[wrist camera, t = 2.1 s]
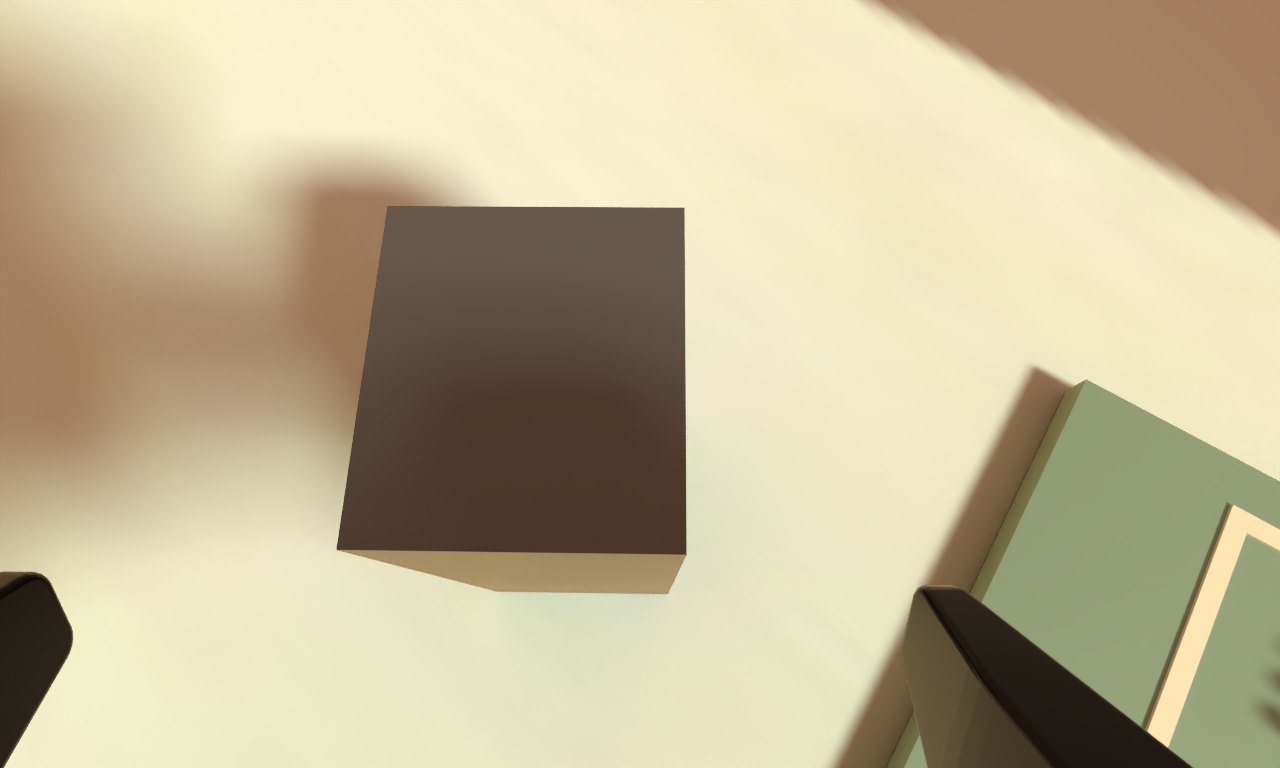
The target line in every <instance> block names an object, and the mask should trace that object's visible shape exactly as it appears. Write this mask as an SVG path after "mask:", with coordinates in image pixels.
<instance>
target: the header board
mask: <svg viewBox="0 0 1280 768" xmlns="http://www.w3.org/2000/svg"><path fill="white" fill-rule="evenodd" d="M970 594H971V595H973V596H974V597H975V598H977V599H978V600H979V601H980V602H982V603H983V604H984V605H986V606H987V607H988V608H989V609H991V610H992V611H993V612H994V613H996V614H997V615H998V616H1000V617H1001V618H1002V619H1003V620H1005V621H1006V622H1007V623H1009V624H1010V625H1011V626H1012V627H1014V628H1015V629H1016V630H1018V631H1019V632H1020V633H1021V634H1023V635H1024V636H1025V637H1027V638H1028V639H1029V640H1030V641H1032V642H1033V643H1034V644H1036V645H1037V646H1038V647H1039V648H1041V649H1042V650H1043V651H1045V652H1046V653H1047V654H1048V655H1050V656H1051V657H1052V658H1054V659H1055V660H1056V661H1057V662H1059V663H1060V664H1061V665H1063V666H1064V667H1065V668H1066V669H1068V670H1069V671H1070V672H1072V673H1073V674H1074V675H1075V676H1077V677H1078V678H1079V679H1081V680H1082V681H1083V682H1084V683H1086V684H1087V685H1088V686H1089V687H1091V688H1092V689H1093V690H1095V691H1096V692H1097V693H1098V694H1100V695H1101V696H1102V697H1104V698H1105V699H1106V700H1107V701H1109V702H1110V703H1111V704H1113V705H1114V706H1115V707H1116V708H1118V709H1119V710H1120V711H1122V712H1123V713H1124V714H1125V715H1127V716H1128V717H1129V718H1131V719H1132V720H1133V721H1134V722H1136V723H1137V724H1138V725H1140V726H1141V727H1142V728H1143V729H1145V730H1146V731H1147V732H1149V733H1150V734H1151V735H1152V736H1154V737H1155V738H1156V739H1158V740H1159V741H1160V742H1161V743H1163V744H1164V745H1165V746H1167V747H1168V748H1169V749H1170V750H1172V751H1173V752H1174V753H1175V754H1177V755H1178V756H1179V757H1181V758H1182V759H1183V760H1184V761H1186V762H1187V763H1188V764H1190V765H1191V766H1192V767H1193V768H1280V482H1279V481H1278V480H1276V479H1274V478H1272V477H1270V476H1268V475H1266V474H1264V473H1262V472H1261V471H1259V470H1257V469H1255V468H1253V467H1251V466H1249V465H1247V464H1245V463H1243V462H1242V461H1240V460H1238V459H1236V458H1234V457H1232V456H1230V455H1228V454H1226V453H1225V452H1223V451H1221V450H1219V449H1217V448H1215V447H1213V446H1211V445H1209V444H1207V443H1206V442H1204V441H1202V440H1200V439H1198V438H1196V437H1194V436H1192V435H1190V434H1189V433H1187V432H1185V431H1183V430H1181V429H1179V428H1177V427H1175V426H1173V425H1171V424H1170V423H1168V422H1166V421H1164V420H1162V419H1160V418H1158V417H1156V416H1154V415H1153V414H1151V413H1149V412H1147V411H1145V410H1143V409H1141V408H1139V407H1137V406H1136V405H1134V404H1132V403H1130V402H1128V401H1126V400H1124V399H1122V398H1120V397H1118V396H1117V395H1115V394H1113V393H1111V392H1109V391H1107V390H1105V389H1103V388H1101V387H1100V386H1098V385H1096V384H1094V383H1092V382H1090V381H1088V380H1084V381H1083V382H1081V383H1079V384H1078V385H1076V386H1074V387H1072V388H1071V389H1069V390H1067V391H1066V392H1065V394H1064V396H1063V398H1062V400H1061V402H1060V404H1059V406H1058V409H1057V411H1056V413H1055V415H1054V417H1053V419H1052V421H1051V423H1050V425H1049V427H1048V430H1047V432H1046V434H1045V436H1044V438H1043V440H1042V442H1041V444H1040V446H1039V448H1038V451H1037V453H1036V455H1035V457H1034V459H1033V461H1032V463H1031V465H1030V467H1029V469H1028V472H1027V474H1026V476H1025V478H1024V480H1023V482H1022V484H1021V486H1020V488H1019V490H1018V493H1017V495H1016V497H1015V499H1014V501H1013V503H1012V505H1011V507H1010V509H1009V511H1008V514H1007V516H1006V518H1005V520H1004V522H1003V524H1002V526H1001V528H1000V530H999V532H998V534H997V537H996V539H995V541H994V543H993V545H992V547H991V549H990V551H989V553H988V555H987V558H986V560H985V562H984V564H983V566H982V568H981V570H980V572H979V574H978V576H977V579H976V581H975V583H974V585H973V587H972V589H971V591H970ZM887 768H927V764H926V759H925V755H924V751H923V747H922V742H921V738H920V734H919V730H918V726H917V721H916V717H915V713H914V711H913V713H912V715H911V717H910V719H909V721H908V723H907V726H906V728H905V730H904V732H903V734H902V736H901V738H900V740H899V742H898V744H897V747H896V749H895V751H894V753H893V755H892V757H891V759H890V761H889V763H888V765H887Z"/></svg>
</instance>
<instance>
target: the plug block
mask: <svg viewBox="0 0 1280 768" xmlns="http://www.w3.org/2000/svg"><path fill="white" fill-rule="evenodd" d="M337 550H339V551H343V552H347V553H351V554H354V555H358V556H362V557H366V558H370V559H374V560H378V561H381V562H385V563H389V564H393V565H397V566H401V567H405V568H408V569H412V570H416V571H420V572H424V573H428V574H432V575H435V576H439V577H443V578H447V579H451V580H455V581H459V582H462V583H466V584H470V585H474V586H478V587H482V588H486V589H489V590H493V591H502V592H569V593H636V594H668V593H669V590H670V588H671V586H672V584H673V582H674V580H675V578H676V576H677V573H678V571H679V569H680V567H681V565H682V563H683V561H684V559H685V557H686V408H685V237H684V208H623V207H441V206H388V208H387V215H386V221H385V228H384V235H383V241H382V248H381V255H380V262H379V268H378V275H377V282H376V288H375V295H374V302H373V309H372V315H371V322H370V329H369V335H368V342H367V349H366V355H365V362H364V369H363V376H362V382H361V389H360V396H359V402H358V409H357V416H356V423H355V429H354V436H353V443H352V449H351V456H350V463H349V470H348V476H347V483H346V490H345V496H344V503H343V510H342V516H341V523H340V530H339V537H338V543H337Z"/></svg>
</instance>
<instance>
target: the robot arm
mask: <svg viewBox="0 0 1280 768" xmlns="http://www.w3.org/2000/svg"><path fill="white" fill-rule="evenodd" d="M72 644H73V630H72V627H71V625H70V623H69V621H68V619H67V616H66V614H65V612H64V610H63V608H62V606H61V604H60V602H59V599H58V597H57V595H56V593H55V591H54V589H53V587H52V584H51V583H50V581H49V580H48V579H47V578H46V577H45V576H43V575H42V574H39V573H36V572H0V768H4V766H5V765H6V763H7V761H8V759H9V758H10V756H11V754H12V753H13V751H14V749H15V747H16V746H17V744H18V742H19V740H20V739H21V737H22V735H23V733H24V732H25V730H26V728H27V727H28V725H29V723H30V721H31V720H32V718H33V716H34V714H35V713H36V711H37V709H38V708H39V706H40V704H41V702H42V701H43V699H44V697H45V695H46V694H47V692H48V690H49V688H50V687H51V685H52V683H53V682H54V680H55V678H56V676H57V675H58V673H59V671H60V669H61V668H62V666H63V664H64V662H65V661H66V659H67V657H68V655H69V653H70V651H71V647H72ZM902 656H903V666H904V671H905V675H906V679H907V683H908V688H909V692H910V696H911V700H912V704H913V709H914V713H915V717H916V721H917V726H918V730H919V734H920V738H921V742H922V747H923V751H924V755H925V759H926V764H927V768H1193V767H1192V766H1191V765H1190V764H1188V763H1187V762H1186V761H1184V760H1183V759H1182V758H1181V757H1179V756H1178V755H1177V754H1175V753H1174V752H1173V751H1172V750H1170V749H1169V748H1168V747H1167V746H1165V745H1164V744H1163V743H1161V742H1160V741H1159V740H1158V739H1156V738H1155V737H1154V736H1152V735H1151V734H1150V733H1149V732H1147V731H1146V730H1145V729H1143V728H1142V727H1141V726H1140V725H1138V724H1137V723H1136V722H1134V721H1133V720H1132V719H1131V718H1129V717H1128V716H1127V715H1125V714H1124V713H1123V712H1122V711H1120V710H1119V709H1118V708H1116V707H1115V706H1114V705H1113V704H1111V703H1110V702H1109V701H1107V700H1106V699H1105V698H1104V697H1102V696H1101V695H1100V694H1098V693H1097V692H1096V691H1095V690H1093V689H1092V688H1091V687H1089V686H1088V685H1087V684H1086V683H1084V682H1083V681H1082V680H1081V679H1079V678H1078V677H1077V676H1075V675H1074V674H1073V673H1072V672H1070V671H1069V670H1068V669H1066V668H1065V667H1064V666H1063V665H1061V664H1060V663H1059V662H1057V661H1056V660H1055V659H1054V658H1052V657H1051V656H1050V655H1048V654H1047V653H1046V652H1045V651H1043V650H1042V649H1041V648H1039V647H1038V646H1037V645H1036V644H1034V643H1033V642H1032V641H1030V640H1029V639H1028V638H1027V637H1025V636H1024V635H1023V634H1021V633H1020V632H1019V631H1018V630H1016V629H1015V628H1014V627H1012V626H1011V625H1010V624H1009V623H1007V622H1006V621H1005V620H1003V619H1002V618H1001V617H1000V616H998V615H997V614H996V613H994V612H993V611H992V610H991V609H989V608H988V607H987V606H986V605H984V604H983V603H982V602H980V601H979V600H978V599H977V598H975V597H974V596H973V595H971V594H970V593H969V592H968V591H966V590H965V589H963V588H961V587H959V586H953V585H923V586H921V587H919V588H918V589H917V590H916V592H915V594H914V596H913V600H912V605H911V609H910V614H909V618H908V623H907V627H906V632H905V636H904V641H903V649H902Z"/></svg>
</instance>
